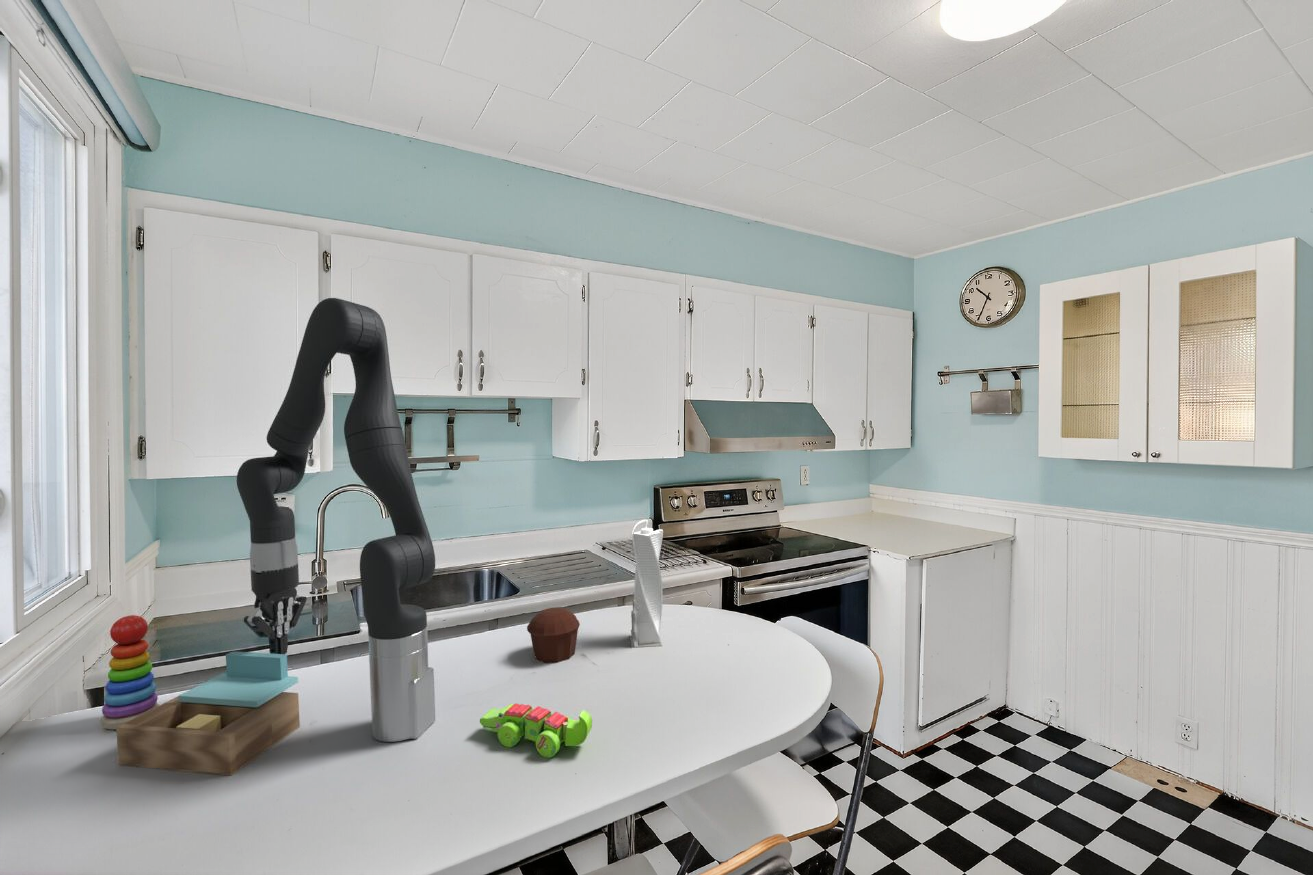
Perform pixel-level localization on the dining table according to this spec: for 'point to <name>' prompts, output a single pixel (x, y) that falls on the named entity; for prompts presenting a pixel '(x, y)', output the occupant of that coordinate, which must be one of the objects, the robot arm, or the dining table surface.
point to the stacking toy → (128, 674)
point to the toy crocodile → (537, 727)
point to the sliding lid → (244, 681)
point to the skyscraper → (646, 588)
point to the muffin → (553, 635)
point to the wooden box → (206, 735)
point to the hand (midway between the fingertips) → (278, 654)
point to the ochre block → (202, 723)
